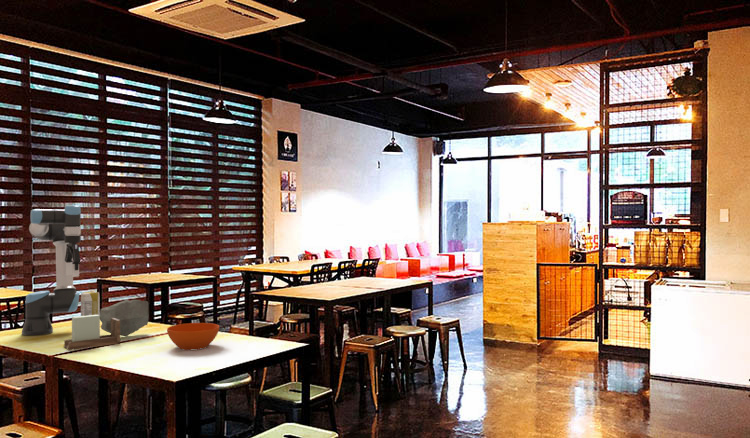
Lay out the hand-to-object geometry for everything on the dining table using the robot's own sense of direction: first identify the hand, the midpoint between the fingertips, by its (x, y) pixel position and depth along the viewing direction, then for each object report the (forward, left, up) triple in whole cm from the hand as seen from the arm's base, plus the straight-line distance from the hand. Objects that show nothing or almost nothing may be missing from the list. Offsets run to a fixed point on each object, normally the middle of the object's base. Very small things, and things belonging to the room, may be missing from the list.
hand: (72, 275), depth 303 cm
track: (+14, +6, -35) cm, 38 cm away
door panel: (+14, +3, -34) cm, 37 cm away
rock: (+2, +26, -35) cm, 44 cm away
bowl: (+52, +43, -35) cm, 76 cm away
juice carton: (-23, +15, -35) cm, 44 cm away
